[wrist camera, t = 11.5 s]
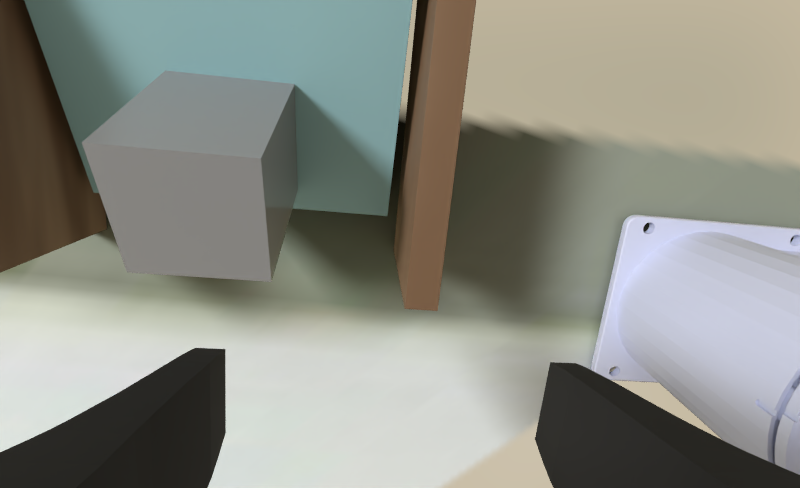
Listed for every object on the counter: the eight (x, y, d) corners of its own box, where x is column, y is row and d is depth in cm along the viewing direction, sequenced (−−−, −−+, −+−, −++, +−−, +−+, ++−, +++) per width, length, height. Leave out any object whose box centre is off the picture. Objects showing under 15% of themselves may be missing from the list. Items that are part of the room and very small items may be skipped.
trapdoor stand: (456, -118, 17) (508, -263, 10) (416, 251, 20) (437, 310, 14) (47, -178, 15) (-177, -386, 9) (81, 227, 19) (-63, 279, 13)
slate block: (294, 83, 15) (261, 158, 11) (298, 189, 17) (271, 281, 13) (165, 70, 14) (81, 142, 10) (187, 180, 17) (126, 272, 13)
